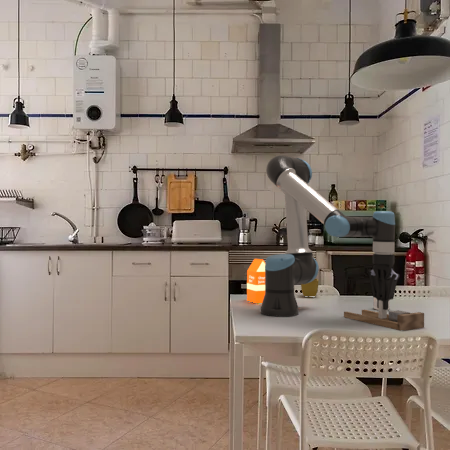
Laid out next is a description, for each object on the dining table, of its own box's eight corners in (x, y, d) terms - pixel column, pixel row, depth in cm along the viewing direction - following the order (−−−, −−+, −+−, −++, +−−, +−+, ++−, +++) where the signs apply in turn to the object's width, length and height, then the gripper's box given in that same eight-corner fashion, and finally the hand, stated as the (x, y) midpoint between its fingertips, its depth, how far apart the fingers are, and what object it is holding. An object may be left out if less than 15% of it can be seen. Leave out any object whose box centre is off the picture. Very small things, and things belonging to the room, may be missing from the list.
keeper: (400, 328, 155) (400, 313, 155) (388, 325, 159) (388, 311, 159) (410, 326, 157) (410, 312, 157) (398, 324, 162) (398, 310, 162)
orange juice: (255, 304, 203) (255, 259, 203) (246, 301, 211) (246, 258, 211) (270, 303, 206) (270, 259, 206) (261, 300, 214) (261, 258, 214)
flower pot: (300, 295, 231) (300, 278, 231) (317, 296, 230) (317, 278, 230) (300, 298, 222) (300, 279, 222) (318, 298, 221) (318, 280, 221)
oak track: (402, 330, 150) (402, 315, 150) (343, 317, 174) (343, 304, 174) (424, 327, 156) (424, 313, 156) (364, 314, 179) (364, 301, 179)
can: (373, 310, 189) (373, 281, 190) (373, 307, 196) (373, 280, 196) (389, 311, 187) (389, 282, 187) (389, 308, 193) (389, 280, 193)
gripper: (405, 254, 161) (404, 320, 161) (376, 252, 172) (375, 314, 172) (390, 254, 157) (389, 322, 157) (362, 252, 168) (361, 315, 168)
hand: (382, 318), depth 164 cm, fingers closed
